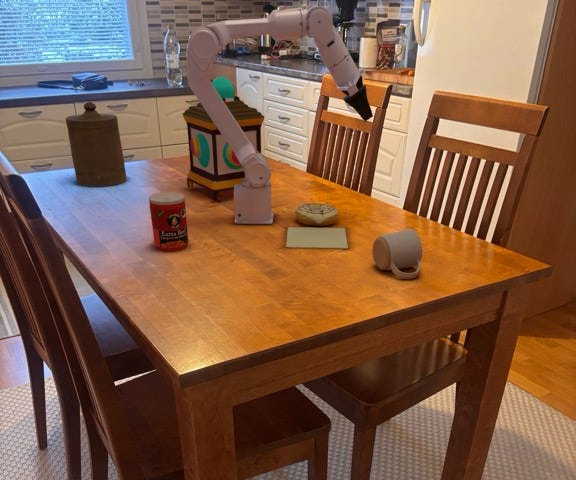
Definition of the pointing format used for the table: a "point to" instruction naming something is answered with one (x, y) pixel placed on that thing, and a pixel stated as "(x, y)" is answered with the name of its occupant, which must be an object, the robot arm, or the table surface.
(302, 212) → the decorated donut
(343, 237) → the placemat
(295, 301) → the table surface
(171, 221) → the canned food
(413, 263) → the ceramic mug
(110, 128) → the wooden container
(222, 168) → the decorative lantern
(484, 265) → the table surface
